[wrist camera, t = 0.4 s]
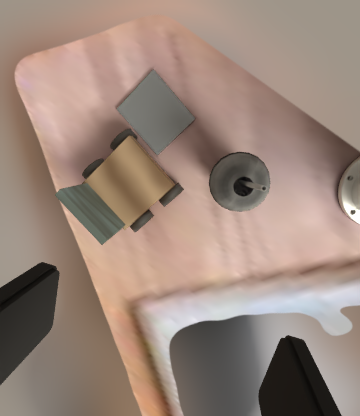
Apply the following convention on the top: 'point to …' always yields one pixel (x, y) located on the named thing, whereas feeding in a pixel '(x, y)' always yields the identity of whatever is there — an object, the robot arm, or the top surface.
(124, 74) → the top surface
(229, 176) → the beverage cup
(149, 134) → the mat
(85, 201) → the trolley
